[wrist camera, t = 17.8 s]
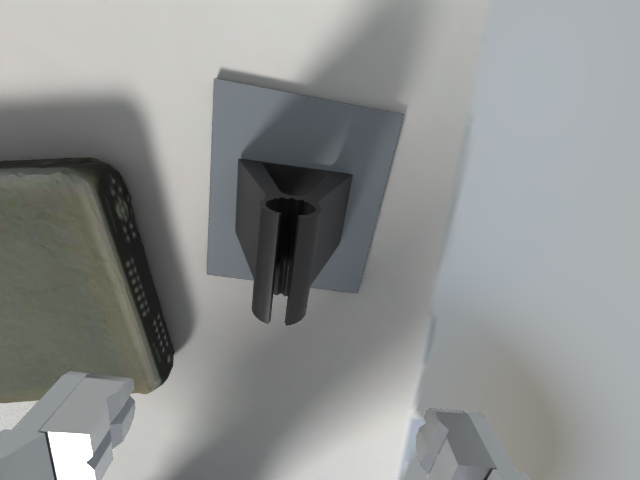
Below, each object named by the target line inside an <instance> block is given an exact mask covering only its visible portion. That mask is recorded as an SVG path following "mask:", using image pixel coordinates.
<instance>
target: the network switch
mask: <svg viewBox="0 0 640 480" xmlns="http://www.w3.org/2000/svg"><path fill="white" fill-rule="evenodd" d="M173 354H174V351H173V348H172V344H171V341H170V337H169V334H168V331H167V327H166V324H165V322H164V319H163V316H162V312H161V308H160V304H159V300H158V297H157V294H156V292H155V288H154V285H153V281H152V278H151V275H150V271H149V268H148V264H147V260H146V257H145V252H144V248H143V246H142V243H141V240H140V235H139V233H138V230H137V228H136V225H135V221H134V214H133V209H132V206H131V196H130V195H129V193H128V191H127V188H126V186H125V184H124V182H123V180H122V177H121V175H120V174H119V172H117V171H116V170H115V169H114V168H112V167H111V166H110V165H108V164H106V163H103V162H100V161H99V160H97V159H95V158H63V159H43V160H20V161H0V403H11V402H23V401H36V400H40V399H41V398H42V397H43V396H44V395H45V394H46V392H47V391H48V390H49V389H50V388H51V387H52V386H53V385H54V384H55V383H56V382H57V381H58V380H59V379H60V377H61V376H63V375H64V374H66V373H68V372H69V371H74V372H83V373H93V374H101V375H108V376H116V377H124V378H131V379H133V381H134V390H133V392H132V393H142V394H148V393H150V392H152V391H153V390H155V389H156V388H158V387H159V386H161V385H162V384H163V383H164V382H165V381H166V380H167V378H168V376H169V374H170V372H171V369H172V367H173Z"/></svg>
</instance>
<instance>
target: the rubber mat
mask: <svg viewBox="0 0 640 480" xmlns="http://www.w3.org/2000/svg"><path fill="white" fill-rule="evenodd" d="M403 116H404V114H399V113H394V112H388V111H383V110H378V109H373V108H367V107H362V106H357V105H352V104H346V103H341V102H336V101H331V100H325V99H320V98H315V97H310V96H305V95H299V94H294V93H289V92H284V91H278V90H273V89H268V88H263V87H257V86H252V85H247V84H242V83H236V82H231V81H226V80H221V79H215V78H214V90H213V117H212V144H211V172H210V199H209V226H208V253H207V275H215V276H223V277H231V278H239V279H247V280H254V279H253V276H252V273H251V271H250V268H249V266H248V263H247V261H246V258H245V255H244V253H243V250H242V248H241V245H240V242H239V240H238V237H237V235H236V232H235V222H236V198H237V175H238V159H248V160H255V161H262V162H270V163H277V164H284V165H291V166H296V167H306V168H313V169H320V170H327V171H335V172H342V173H349V174H352V175H353V177H352V183H351V188H350V193H349V199H348V204H347V209H346V215H345V220H344V226H343V231H342V236H341V242H340V244H339V246H338V247H337V249H336V250H335V252H334V253H333V254H332V256H331V257H330V259H329V260H328V262H327V263H326V265H325V266H324V267H323V269H322V270H321V272H320V273H319V275H318V276H317V278H316V279H315V280H314V282H313V283H312V285H311V286H310V288H318V289H326V290H334V291H342V292H350V293H358V291H359V287H360V283H361V279H362V275H363V271H364V267H365V263H366V260H367V256H368V252H369V248H370V244H371V240H372V236H373V232H374V229H375V225H376V221H377V217H378V213H379V209H380V205H381V201H382V198H383V194H384V190H385V186H386V182H387V178H388V174H389V170H390V167H391V163H392V159H393V155H394V151H395V147H396V143H397V139H398V136H399V132H400V128H401V124H402V120H403Z"/></svg>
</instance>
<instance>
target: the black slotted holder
mask: <svg viewBox="0 0 640 480" xmlns="http://www.w3.org/2000/svg"><path fill="white" fill-rule="evenodd" d="M352 177H353V175H352V174H349V173H342V172H335V171H327V170H320V169H313V168H306V167H296V166H291V165H284V164H277V163H270V162H262V161H255V160H248V159H238V175H237V198H236V222H235V232H236V235H237V237H238V240H239V242H240V245H241V248H242V250H243V253H244V255H245V258H246V261H247V263H248V266H249V268H250V271H251V273H252V276H253V279H254V287H253V300H252V311H253V313H254V315H255V316H256V317H257V318H258V319H259V320H261V321H262V322H265V323H267V324H269V322H270V321H271V311H272V301H273V294H275V295H278V294H280V293H282V294H283V295H284V296H288V300H287V309H286V317H285V324H286V325H291V324H294V323H297V322H299V321H300V320H301V319H302V318H303V317H304V316H305V314H306V308H307V302H308V295H309V289H310V286H311V285H312V283H313V282H314V280H315V279H316V278H317V276H318V275H319V273H320V272H321V270H322V269H323V267H324V266H325V265H326V263H327V262H328V260H329V259H330V257H331V256H332V254H333V253H334V252H335V250H336V249H337V247H338V246H339V244H340V242H341V236H342V231H343V226H344V220H345V215H346V209H347V204H348V199H349V193H350V188H351V183H352Z"/></svg>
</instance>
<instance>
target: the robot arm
mask: <svg viewBox="0 0 640 480" xmlns="http://www.w3.org/2000/svg"><path fill="white" fill-rule="evenodd" d="M133 390H134V381H133V379H131V378H124V377H116V376H108V375H101V374H93V373H83V372H74V371H69V372H68V373H66V374H64V375H63V376H61V377H60V379H59V380H58V381H57V382H56V383H55V384H54V385H53V386H52V387H51V388H50V389H49V390H48V391H47V392H46V394H45V395H44V396H43V397H42V398H41V399H40V400H39V401H38V402H37V403H36V404H35V405H34V406H33V408H32V409H31V410H30V411H29V412H28V413H27V414H26V415H25V416H24V417H23V418H22V419H21V420H20V421H19V423H18V424H17V425H16V426H15V427H14V428H13V429H12V430H3V431H1V432H0V480H102V478H103V476H104V474H105V473H106V471H107V469H108V467H109V466H110V464H111V462H112V460H113V453H112V449H113V448H114V447H116V446H117V445H119V444H120V443H121V442H123V440H124V439H125V437H126V435H127V433H128V431H129V429H130V426H131V424H132V421H133V418H134V413H135V401H134V400H133V399H132V398H131V396H130V395H131V393H132V392H133ZM424 419H425V422H426V423H425V424H424V425H422V426H421V427H420V428H419V430H418V432H417V435H416V452H417V457H418V460H419V463H420V466H421V467H422V468H423V469H424V470H425V471H426V472H427V474H428V476H427V480H531V479H530V478H529V477H528V476H526V475H525V474H524V473H523V472H520V471H517V470H516V469H515V467H514V465H513V464H512V462H511V460H510V459H509V457H508V455H507V454H506V452H505V450H504V448H503V447H502V445H501V443H500V442H499V440H498V438H497V437H496V435H495V433H494V431H493V430H492V428H491V426H490V425H489V423H488V421H487V420H486V418H485V417H484V415H482V414H481V413H480V412H469V411H461V410H449V409H438V408H429V409H428V410H427V411H426V413H425V415H424Z"/></svg>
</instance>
